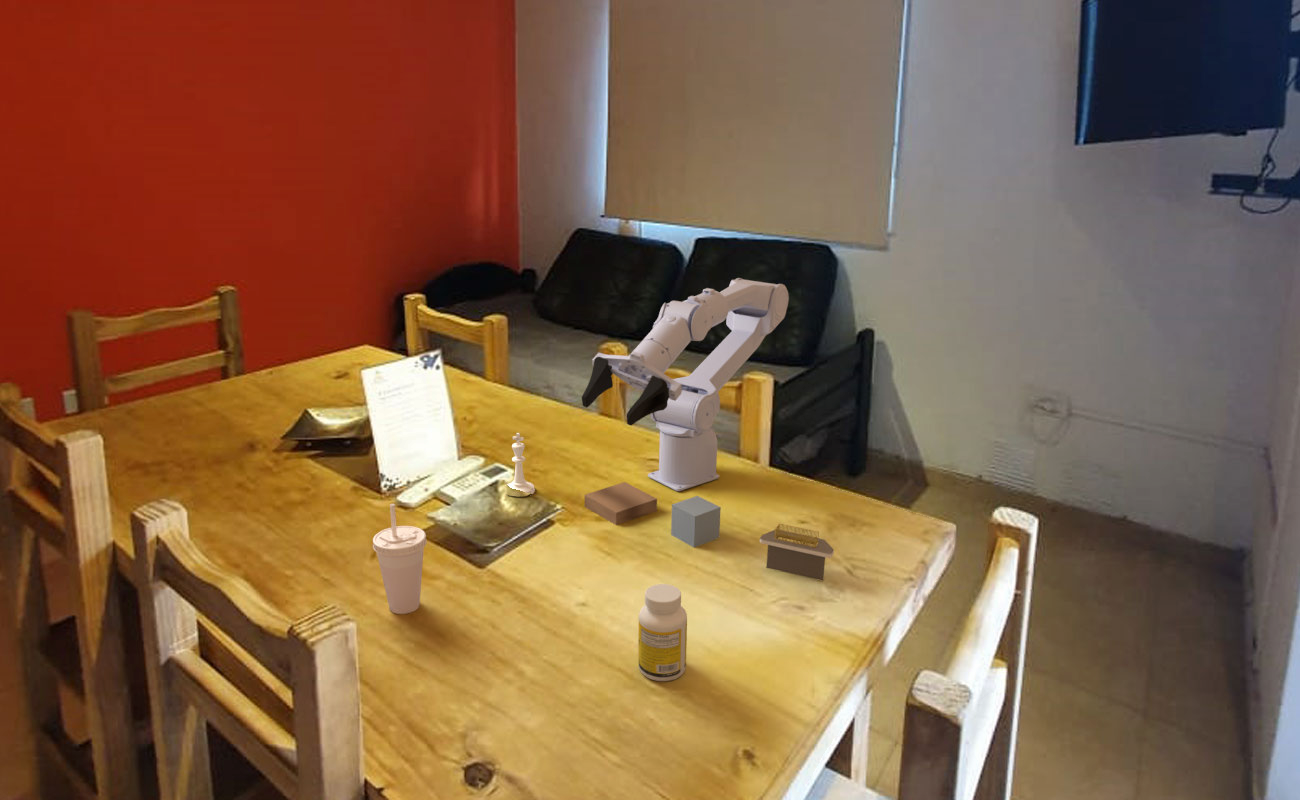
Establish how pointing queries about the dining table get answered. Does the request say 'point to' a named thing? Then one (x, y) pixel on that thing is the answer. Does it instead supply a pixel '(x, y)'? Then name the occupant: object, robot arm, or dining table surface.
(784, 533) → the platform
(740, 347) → the robot arm
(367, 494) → the dining table surface
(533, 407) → the dining table surface
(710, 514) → the slate cube
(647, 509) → the walnut block
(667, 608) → the supplement bottle
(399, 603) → the smoothie
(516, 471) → the chess piece
